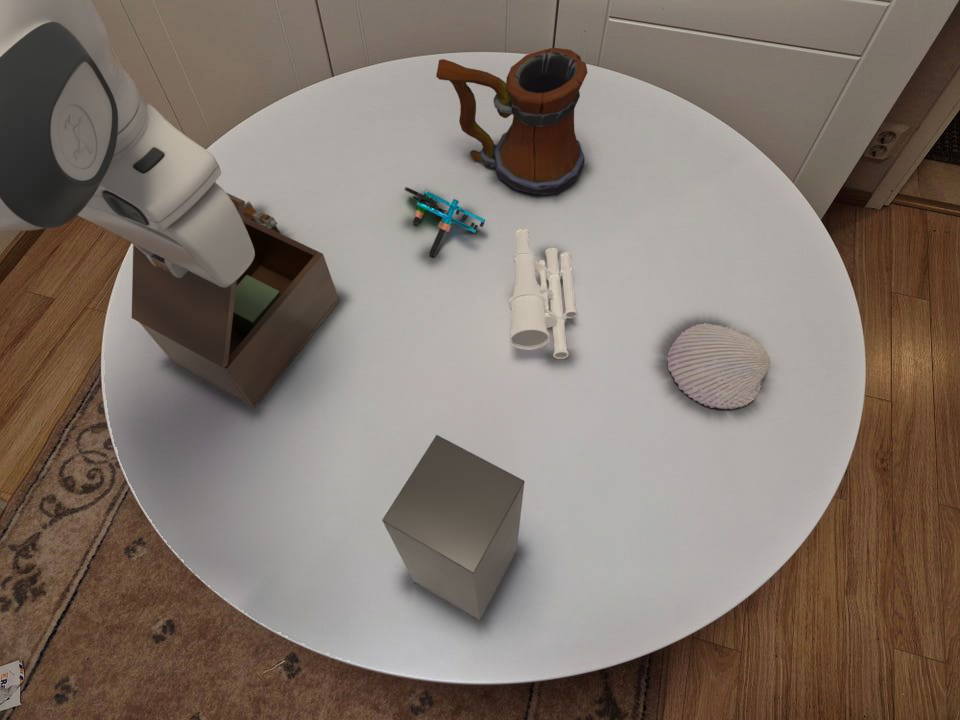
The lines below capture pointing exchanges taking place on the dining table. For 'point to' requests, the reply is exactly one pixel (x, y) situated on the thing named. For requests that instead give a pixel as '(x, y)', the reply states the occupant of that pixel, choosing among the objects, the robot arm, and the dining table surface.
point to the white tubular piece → (540, 298)
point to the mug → (528, 118)
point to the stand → (457, 525)
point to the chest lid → (185, 306)
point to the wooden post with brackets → (260, 217)
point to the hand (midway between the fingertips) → (173, 266)
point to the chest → (267, 318)
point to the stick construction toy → (447, 219)
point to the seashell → (718, 365)
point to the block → (252, 303)
